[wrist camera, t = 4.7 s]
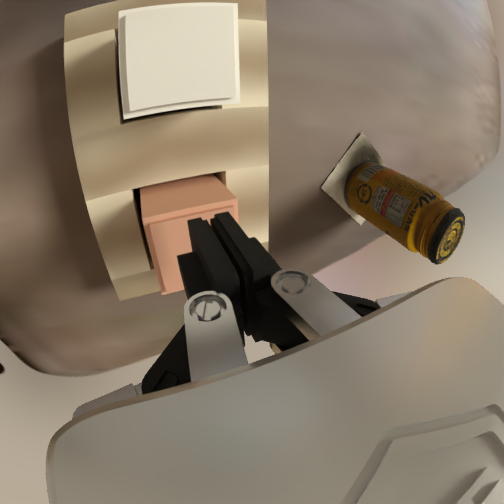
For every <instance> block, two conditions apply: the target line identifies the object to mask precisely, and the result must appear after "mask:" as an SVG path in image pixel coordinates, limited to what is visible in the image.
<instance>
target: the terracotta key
mask: <svg viewBox="0 0 504 504" xmlns="http://www.w3.org/2000/svg"><path fill="white" fill-rule="evenodd" d="M140 198H141V212H142V220H143V225H144V229H145V233H146V238H147V242H148V246H149V250H150V253H151V257H152V261H153V265H154V268H155V272H156V276H157V279H158V283H159V286H160V289H161V293H162V295H164V294H168V293H172V292H176V291H180V290H184V289H185V288H184V285H183V281H182V277H181V273H180V269H179V265H178V260H177V255H181V254H185V253H189V252H192V247H191V241H190V236H189V230H188V223H187V220H190V219H195V218H199V217H201V218H202V220H206V219H207V221H208V222H209V224H210V219H211V218H214V215H215V214H217V213H222V212H227V211H228V212H229V213H230V214H231V215H232V217H233V218H234V219H235V221H236V222H237V223H238V224H239V220H238V200H237V198H236V197H235V196H234V195H233V194H232V192H231V191H230V190H229V189H228V188H227V187H226V186H225V185H224V184H223V183H222V182H221V181H220V180H219V179H218V178H217V177H216V176H215V175H214V174H213V173H209V174H203V175H198V176H192V177H187V178H182V179H177V180H172V181H167V182H162V183H157V184H153V185H148V186H144V187H140ZM210 226H211V225H210Z"/></svg>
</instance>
